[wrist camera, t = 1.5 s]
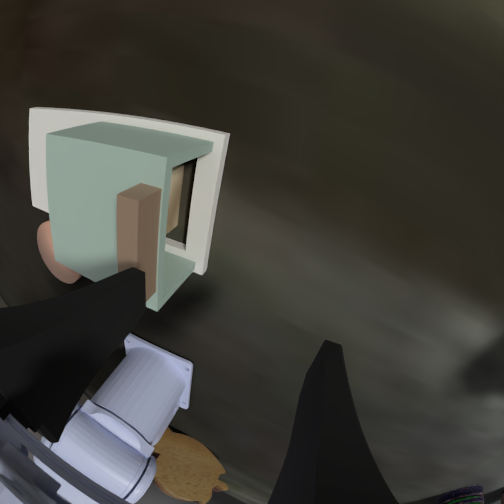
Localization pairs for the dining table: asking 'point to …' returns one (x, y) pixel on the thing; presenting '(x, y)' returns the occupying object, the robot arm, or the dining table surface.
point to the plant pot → (502, 498)
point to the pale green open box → (117, 201)
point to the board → (207, 165)
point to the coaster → (48, 255)
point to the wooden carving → (186, 468)
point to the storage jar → (463, 496)
